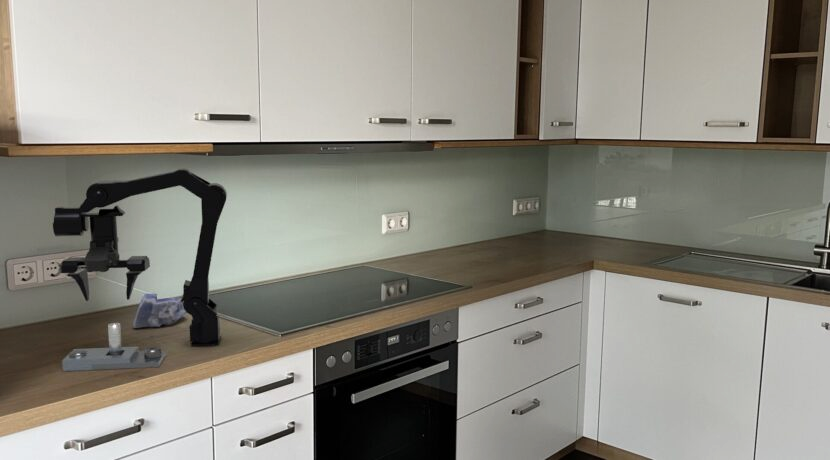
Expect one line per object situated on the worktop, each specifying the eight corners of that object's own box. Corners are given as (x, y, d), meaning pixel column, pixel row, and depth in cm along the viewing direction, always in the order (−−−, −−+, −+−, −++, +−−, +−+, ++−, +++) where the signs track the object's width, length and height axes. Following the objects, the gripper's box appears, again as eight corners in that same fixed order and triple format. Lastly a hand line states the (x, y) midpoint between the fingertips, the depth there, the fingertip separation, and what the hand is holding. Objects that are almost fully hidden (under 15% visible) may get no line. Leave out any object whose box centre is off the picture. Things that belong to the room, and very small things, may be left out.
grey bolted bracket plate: (165, 355, 163) (165, 343, 163) (158, 367, 155) (158, 354, 155) (74, 359, 160) (74, 347, 160) (62, 371, 152) (62, 358, 152)
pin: (123, 361, 159) (121, 322, 158) (120, 364, 156) (118, 325, 155) (111, 361, 159) (109, 323, 157) (108, 365, 156) (106, 326, 155)
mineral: (138, 298, 180) (130, 288, 188) (135, 333, 181) (127, 322, 189) (194, 297, 188) (184, 288, 196) (191, 331, 189) (181, 320, 197)
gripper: (49, 241, 154) (54, 310, 157) (137, 239, 157) (141, 307, 159) (66, 233, 165) (70, 298, 168) (148, 232, 168) (151, 295, 170)
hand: (108, 299), depth 166 cm, fingers open, 9 cm apart
